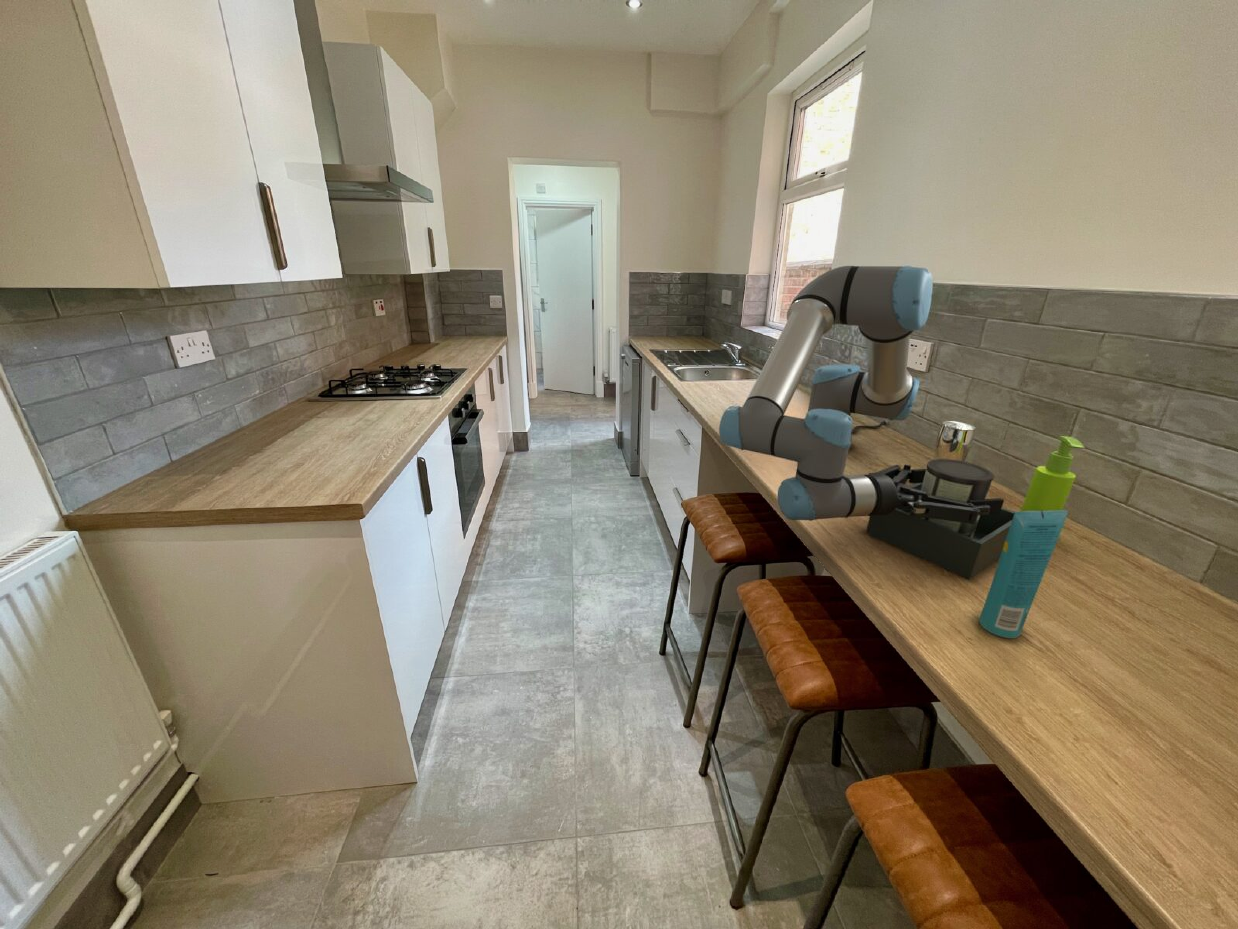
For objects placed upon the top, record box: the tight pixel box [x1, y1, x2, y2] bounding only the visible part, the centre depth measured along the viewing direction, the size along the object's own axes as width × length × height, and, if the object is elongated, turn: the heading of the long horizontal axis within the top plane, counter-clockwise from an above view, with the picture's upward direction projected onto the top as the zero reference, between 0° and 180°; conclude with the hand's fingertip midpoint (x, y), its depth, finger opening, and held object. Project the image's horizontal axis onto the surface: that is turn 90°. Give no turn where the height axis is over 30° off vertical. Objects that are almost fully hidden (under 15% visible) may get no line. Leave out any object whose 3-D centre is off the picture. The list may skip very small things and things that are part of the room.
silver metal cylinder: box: [933, 420, 976, 462], centre depth 117 cm, size 7×7×15 cm
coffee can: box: [918, 459, 995, 538], centre depth 92 cm, size 10×10×14 cm
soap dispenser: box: [1020, 435, 1085, 511], centre depth 94 cm, size 6×7×20 cm
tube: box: [978, 509, 1069, 639], centre depth 68 cm, size 7×5×19 cm, turn 100°
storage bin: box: [865, 483, 1016, 580], centre depth 93 cm, size 19×19×7 cm
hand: (968, 489), depth 91 cm, fingers open, 13 cm apart
